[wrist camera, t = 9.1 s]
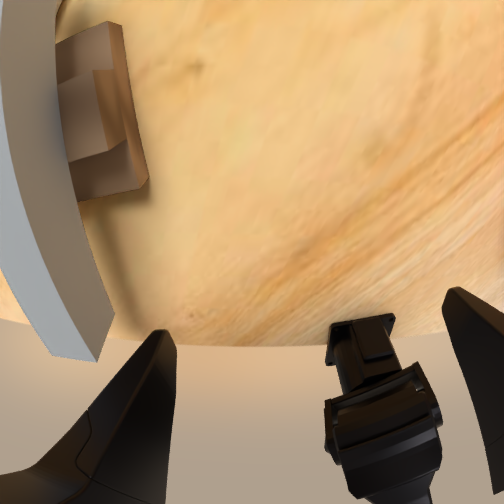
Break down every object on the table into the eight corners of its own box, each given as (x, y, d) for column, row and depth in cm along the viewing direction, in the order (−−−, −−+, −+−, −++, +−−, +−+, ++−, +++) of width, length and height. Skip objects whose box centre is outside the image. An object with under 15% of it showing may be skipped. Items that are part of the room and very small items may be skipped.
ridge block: (149, 176, 17) (124, 208, 13) (53, 199, 17) (19, 230, 13) (121, 25, 11) (85, 14, 8) (22, 72, 12) (-22, 81, 8)
